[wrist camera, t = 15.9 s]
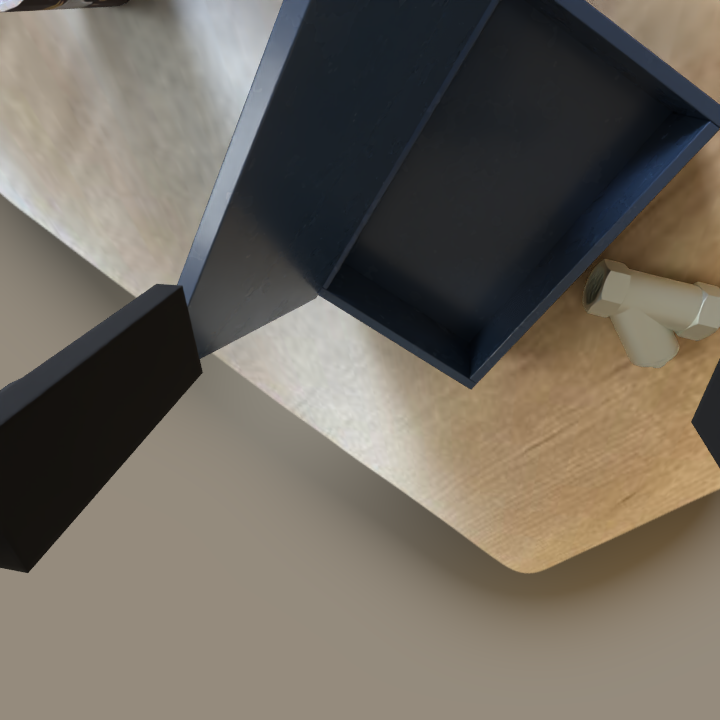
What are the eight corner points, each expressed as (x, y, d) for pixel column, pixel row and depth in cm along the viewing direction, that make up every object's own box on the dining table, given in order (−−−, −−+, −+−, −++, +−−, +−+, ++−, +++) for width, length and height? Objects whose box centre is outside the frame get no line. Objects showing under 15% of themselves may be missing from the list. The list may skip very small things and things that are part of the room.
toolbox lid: (438, -316, 9) (407, -336, 9) (158, 381, 21) (144, 370, 21) (522, -52, 21) (508, -62, 21) (316, 298, 32) (307, 291, 33)
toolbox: (685, 106, 28) (734, 115, 23) (470, 348, 40) (471, 390, 35) (505, -31, 27) (514, -55, 22) (334, 261, 38) (313, 292, 33)
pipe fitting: (660, 355, 37) (713, 280, 33) (676, 386, 34) (737, 307, 30) (559, 329, 38) (600, 252, 34) (566, 357, 35) (611, 276, 31)
